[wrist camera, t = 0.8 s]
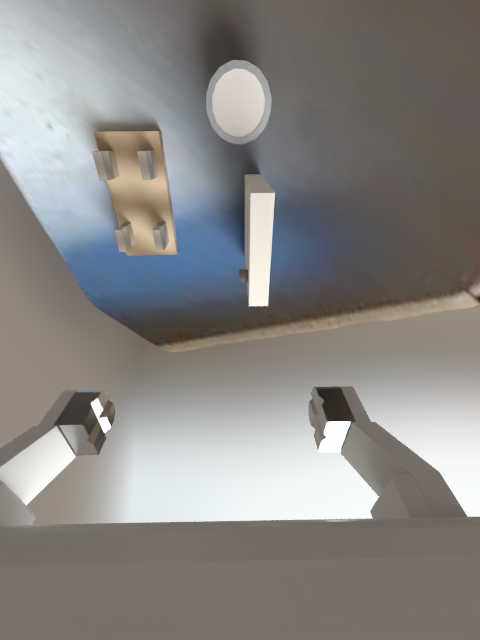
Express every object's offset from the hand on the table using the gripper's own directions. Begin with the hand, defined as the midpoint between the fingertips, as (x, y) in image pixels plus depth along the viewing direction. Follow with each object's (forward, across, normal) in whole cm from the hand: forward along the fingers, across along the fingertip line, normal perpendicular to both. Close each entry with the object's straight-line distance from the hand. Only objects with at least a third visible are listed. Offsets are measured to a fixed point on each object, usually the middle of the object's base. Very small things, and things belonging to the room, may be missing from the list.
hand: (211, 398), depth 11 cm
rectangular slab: (+35, -4, +1) cm, 35 cm away
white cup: (+35, -1, -12) cm, 37 cm away
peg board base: (+35, +12, -2) cm, 37 cm away
